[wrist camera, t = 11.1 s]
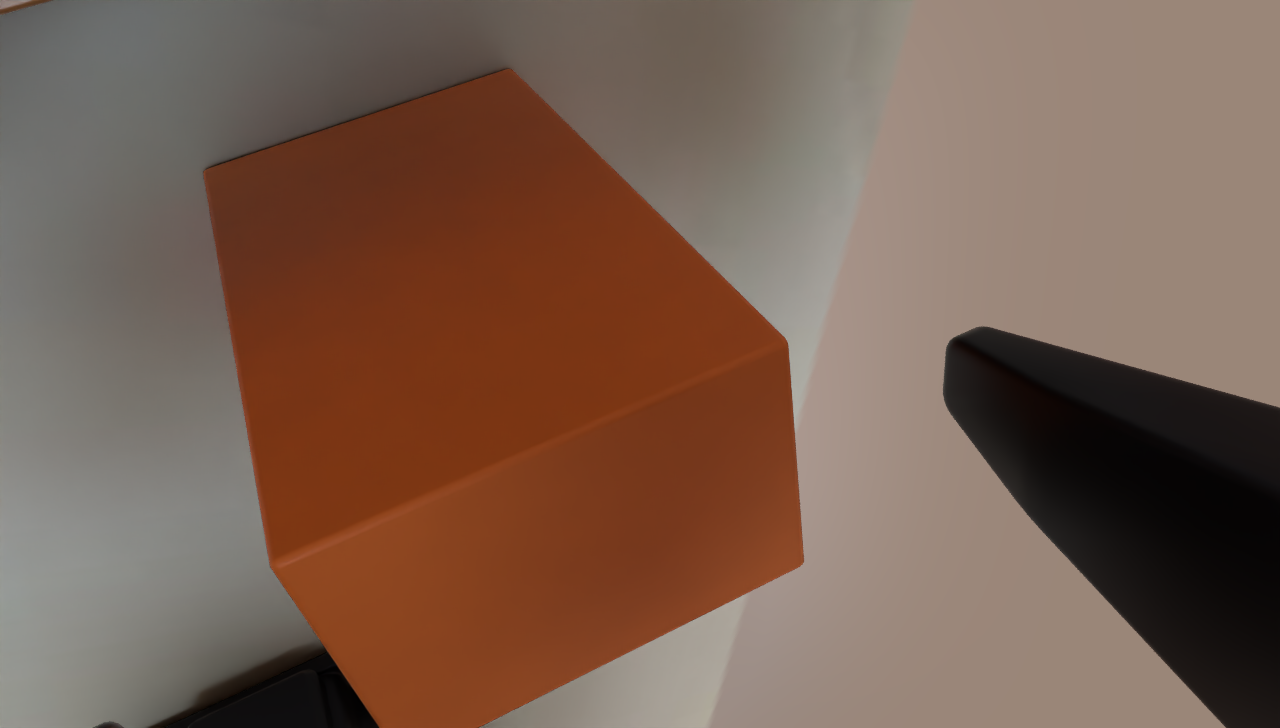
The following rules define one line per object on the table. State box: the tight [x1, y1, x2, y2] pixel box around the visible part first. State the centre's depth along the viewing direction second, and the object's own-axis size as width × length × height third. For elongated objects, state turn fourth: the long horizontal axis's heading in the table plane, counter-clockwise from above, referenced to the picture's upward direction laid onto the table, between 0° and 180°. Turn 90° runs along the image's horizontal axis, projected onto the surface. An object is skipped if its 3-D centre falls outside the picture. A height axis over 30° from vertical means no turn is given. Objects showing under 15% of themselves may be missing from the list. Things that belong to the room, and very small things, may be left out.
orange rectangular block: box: [203, 69, 804, 728], centre depth 12 cm, size 5×4×8 cm
